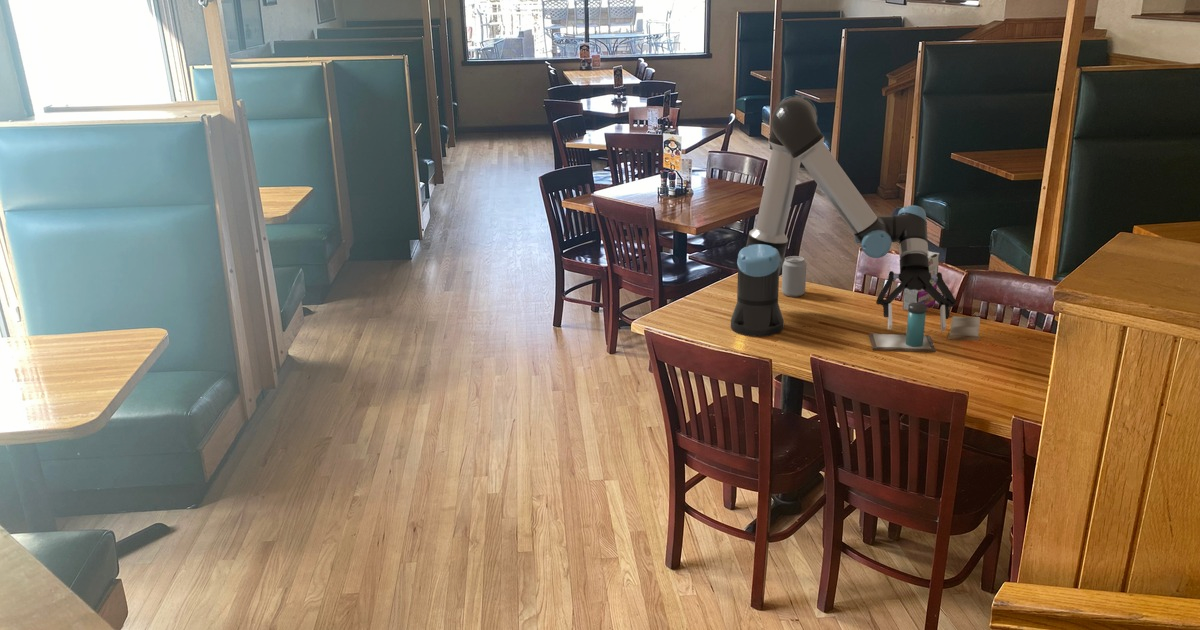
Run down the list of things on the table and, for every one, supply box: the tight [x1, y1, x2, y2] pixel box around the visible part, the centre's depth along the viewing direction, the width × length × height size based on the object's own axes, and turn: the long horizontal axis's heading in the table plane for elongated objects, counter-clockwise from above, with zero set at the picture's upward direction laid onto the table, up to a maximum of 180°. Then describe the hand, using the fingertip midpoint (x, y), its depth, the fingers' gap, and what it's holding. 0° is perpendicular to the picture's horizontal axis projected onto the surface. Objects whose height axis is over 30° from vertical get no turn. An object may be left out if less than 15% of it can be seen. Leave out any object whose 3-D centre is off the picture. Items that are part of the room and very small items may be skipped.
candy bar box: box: [902, 250, 940, 311], centre depth 262 cm, size 11×5×16 cm, turn 131°
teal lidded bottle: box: [905, 303, 928, 347], centre depth 233 cm, size 5×5×11 cm
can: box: [781, 255, 808, 298], centre depth 278 cm, size 8×8×12 cm
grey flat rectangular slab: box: [868, 333, 937, 353], centre depth 237 cm, size 16×11×2 cm
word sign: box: [947, 316, 981, 342], centre depth 238 cm, size 8×2×6 cm, turn 79°
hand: (916, 328), depth 232 cm, fingers open, 13 cm apart
